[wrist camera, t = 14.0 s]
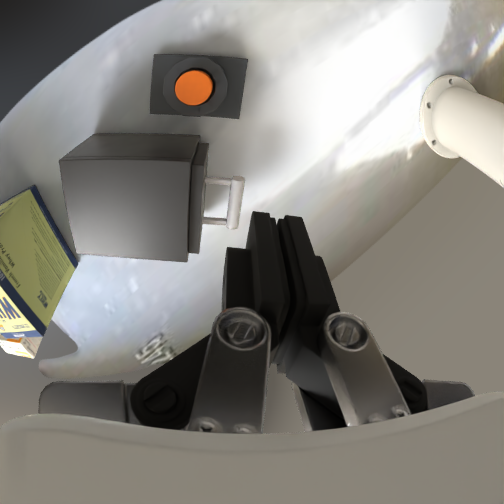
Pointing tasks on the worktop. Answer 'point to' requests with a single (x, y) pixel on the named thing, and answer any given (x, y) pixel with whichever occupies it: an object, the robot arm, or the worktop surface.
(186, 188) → the dark grey cabinet
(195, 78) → the button
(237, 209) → the drawer
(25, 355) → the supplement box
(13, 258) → the protein box
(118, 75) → the worktop surface
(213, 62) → the block
